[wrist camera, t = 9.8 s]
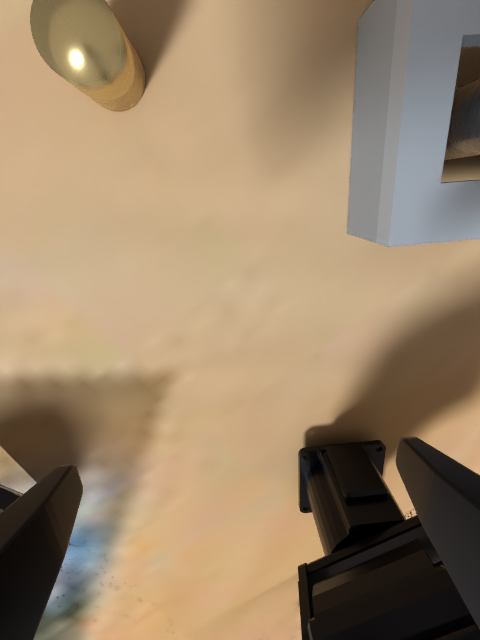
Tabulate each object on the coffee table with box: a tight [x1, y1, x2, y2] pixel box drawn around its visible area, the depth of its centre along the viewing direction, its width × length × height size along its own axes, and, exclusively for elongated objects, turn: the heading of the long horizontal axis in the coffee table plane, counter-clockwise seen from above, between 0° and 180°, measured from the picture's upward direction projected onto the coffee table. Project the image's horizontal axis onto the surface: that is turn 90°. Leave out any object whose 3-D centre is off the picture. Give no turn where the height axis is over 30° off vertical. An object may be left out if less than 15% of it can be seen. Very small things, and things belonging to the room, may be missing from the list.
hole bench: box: [347, 0, 480, 247], centre depth 15 cm, size 10×9×5 cm
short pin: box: [30, 0, 145, 112], centre depth 13 cm, size 3×3×4 cm
